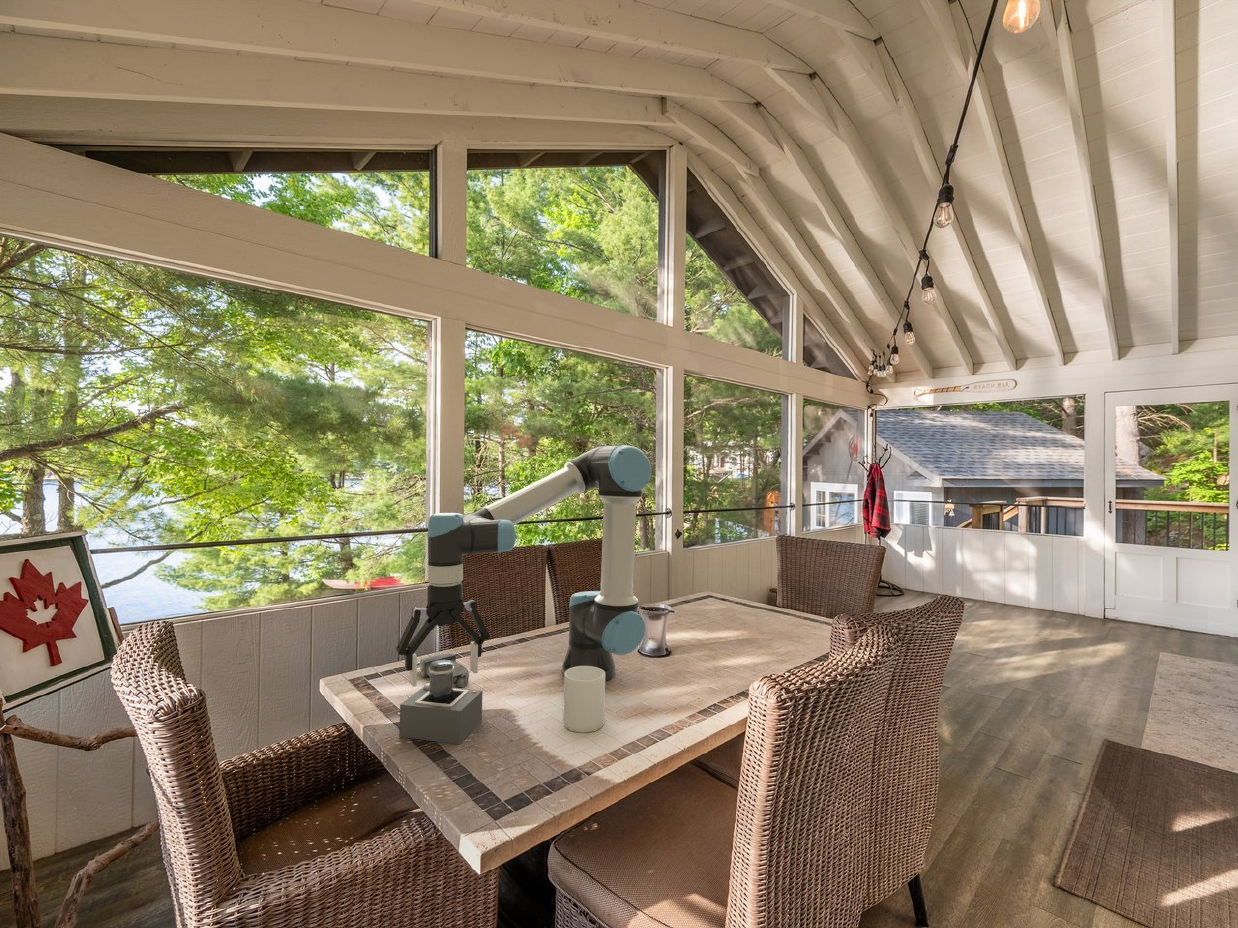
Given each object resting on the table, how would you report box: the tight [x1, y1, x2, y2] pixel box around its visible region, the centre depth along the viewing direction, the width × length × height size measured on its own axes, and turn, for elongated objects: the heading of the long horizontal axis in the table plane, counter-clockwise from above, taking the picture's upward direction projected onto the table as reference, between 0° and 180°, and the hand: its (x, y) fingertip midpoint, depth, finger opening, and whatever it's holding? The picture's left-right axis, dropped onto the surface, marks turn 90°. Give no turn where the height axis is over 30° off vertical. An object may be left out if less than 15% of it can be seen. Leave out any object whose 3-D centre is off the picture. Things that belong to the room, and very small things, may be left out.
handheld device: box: [418, 653, 470, 688], centre depth 154 cm, size 10×20×5 cm, turn 43°
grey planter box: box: [398, 682, 483, 745], centre depth 126 cm, size 14×11×8 cm
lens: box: [429, 660, 454, 704], centre depth 125 cm, size 5×5×10 cm
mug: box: [562, 666, 606, 734], centre depth 130 cm, size 10×12×12 cm
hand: (444, 677), depth 126 cm, fingers open, 13 cm apart
